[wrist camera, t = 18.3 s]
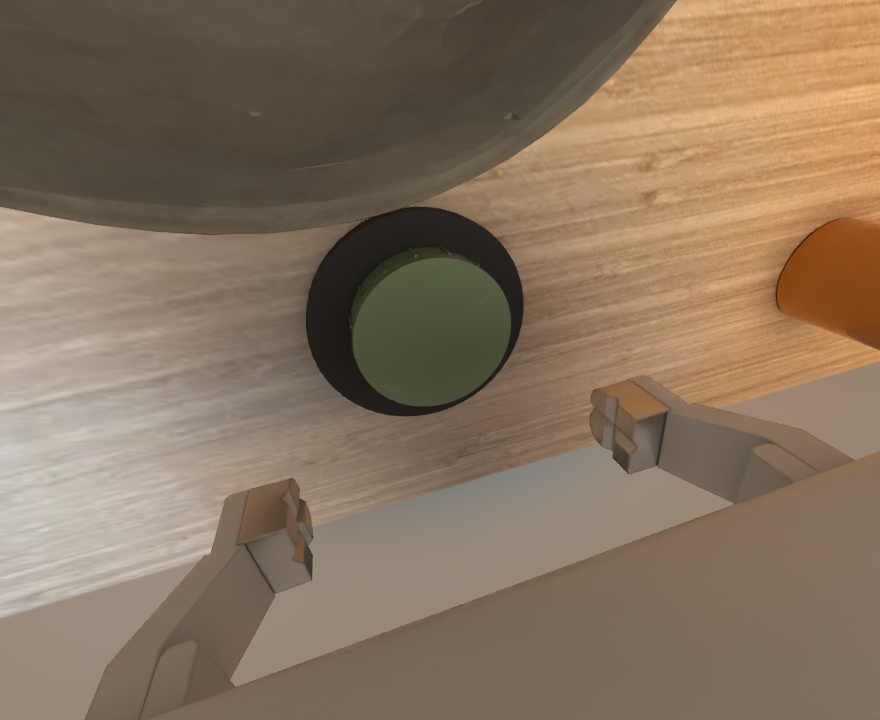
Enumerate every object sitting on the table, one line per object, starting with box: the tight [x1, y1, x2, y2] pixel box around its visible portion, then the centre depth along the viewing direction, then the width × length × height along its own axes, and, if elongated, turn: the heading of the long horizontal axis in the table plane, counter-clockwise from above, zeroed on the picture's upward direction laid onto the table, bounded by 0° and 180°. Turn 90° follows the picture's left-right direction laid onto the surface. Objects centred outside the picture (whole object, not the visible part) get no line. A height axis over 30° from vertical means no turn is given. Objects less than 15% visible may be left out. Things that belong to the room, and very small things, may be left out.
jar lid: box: [348, 246, 511, 406], centre depth 17 cm, size 7×7×2 cm
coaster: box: [306, 207, 523, 416], centre depth 19 cm, size 10×10×1 cm
